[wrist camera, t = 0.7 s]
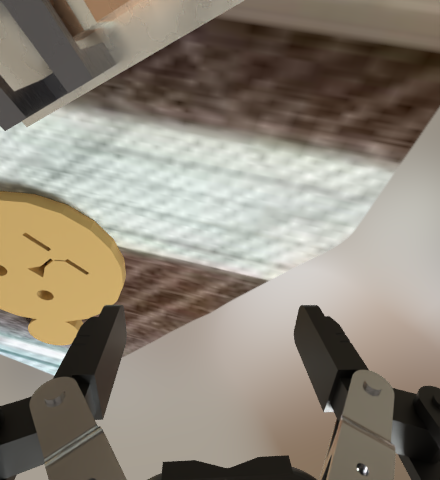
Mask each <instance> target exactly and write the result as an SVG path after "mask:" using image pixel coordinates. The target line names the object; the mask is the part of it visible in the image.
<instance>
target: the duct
mask: <svg viewBox="0 0 440 480" xmlns="http://www.w3.org/2000/svg"><path fill="white" fill-rule="evenodd" d="M49 1H50V3H51V5H52V6H53V8H54V9H55V11H56V12H57V14H58V15H59V17H60V18H61V20H62V22H63V23H64V25H65V26H66V28H67V29H68V31H69V32H70V34H71V35H72V37H73V39H74V40H75V41H80V40H82V39H84V38H85V37H87V36H89V35H90V34H92V33H93V32H95V31H96V30H98V29H100V28H103V27H105V26H106V25H108V24H109V23H111V22H112V21H113V20H114V19H115V18H117V17H118V16H120V15H121V14H123V13H125V12H126V11H128V10H129V9H131V8H132V7H134V6H136V5H137V4H139V3H140V2H142V1H143V0H49Z"/></svg>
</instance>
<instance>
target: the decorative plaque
mask: <svg viewBox="0 0 440 480" xmlns="http://www.w3.org/2000/svg"><path fill="white" fill-rule="evenodd" d="M49 259H50V260H49ZM48 260H49V261H48ZM47 261H48V263H47V265H46V266H45V265H43V264H44V263H45V262H47ZM125 277H126V272H125V262H124V258H123V256H122V254H121V252H120V250H119V248H118V246H117V245H116V243H115V241H114V239H113V238H112V237H110V236H109V235H108V234H107V233H106V232H105V231H104V230H103V229H102V228H101V227H100V226H99V225H98V224H97V223H96V222H95V221H94V220H92V219H90V218H89V217H87V216H85V215H84V214H82V213H80V212H79V211H77V210H75V209H74V208H72V207H70V206H68V205H66V204H63V203H60V202H57V201H54V200H51V199H48V198H45V197H42V196H39V195H36V194H28V193H18V192H7V191H0V309H2V310H5V311H7V312H10V313H13V314H15V315H18V316H23V317H27V318H32V320H31V322H30V324H29V326H28V330H29V332H30V334H31V335H32V336H33V337H34V338H36V339H38V340H40V341H42V342H45V343H48V344H53V345H68V344H72V342H73V340H74V338H76V335H77V333H78V331H79V329H80V327H81V325H83V322H82V320H81V319H88V318H90V317H93V316H95V315H98V314H100V313H101V311H102V309H103V307H104V305H113V304H114V303H115V302H116V301H117V300H118V297H119V295H120V292H121V290H122V287H123V284H124V281H125Z"/></svg>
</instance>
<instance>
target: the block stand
mask: <svg viewBox="0 0 440 480" xmlns="http://www.w3.org/2000/svg"><path fill="white" fill-rule="evenodd" d="M242 1H244V0H143V1H142V2H140V3H139V4H137V5H136V6H134V7H132V8H131V9H129V10H128V11H126V12H125V13H123V14H121V15H120V16H118V17H117V18H115V19H114V20H113V21H112V22H111V23H109V24H108V25H106V26H105V27H103V28H100V29H98V30H96V31H95V32H93V33H92V34H90V35H89V36H87V37H85V38H84V39H82V40H80V41H75V40H74V39H73V37H72V35H71V34H70V32H69V31H68V29H67V28H66V26H65V25H64V23H63V22H62V20H61V18H60V17H59V15H58V14H57V12H56V11H55V9H54V8H53V6H52V5H51V3H50V1H49V0H0V126H1V127H2V128H3V129H4V130H5V131H6V130H8V129H9V128H11V127H13V126H14V125H16V124H18V123H19V122H21V121H22V122H23V123H24V124H25V125H26V127H28V126H30V125H32V124H33V123H35V122H37V121H38V120H40V119H42V118H44V117H45V116H47V115H49V114H50V113H52V112H54V111H56V110H57V109H59V108H61V107H62V106H64V105H66V104H68V103H69V102H71V101H73V100H74V99H76V98H78V97H80V96H81V95H83V94H85V93H86V92H88V91H90V90H92V89H93V88H95V87H97V86H98V85H100V84H102V83H104V82H105V81H107V80H109V79H110V78H112V77H114V76H116V75H117V74H119V73H121V72H122V71H124V70H126V69H128V68H129V67H131V66H133V65H134V64H136V63H138V62H140V61H141V60H143V59H145V58H146V57H148V56H150V55H152V54H153V53H155V52H157V51H158V50H160V49H162V48H164V47H165V46H167V45H169V44H170V43H172V42H174V41H176V40H177V39H179V38H181V37H182V36H184V35H186V34H188V33H189V32H191V31H193V30H194V29H196V28H198V27H200V26H201V25H203V24H205V23H206V22H208V21H210V20H212V19H213V18H215V17H217V16H218V15H220V14H222V13H224V12H225V11H227V10H229V9H230V8H232V7H234V6H236V5H237V4H239V3H241V2H242Z"/></svg>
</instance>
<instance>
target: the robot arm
mask: <svg viewBox="0 0 440 480" xmlns="http://www.w3.org/2000/svg"><path fill="white" fill-rule="evenodd" d="M294 340H295V344H296V347H297V349H298V351H299V354H300V356H301V358H302V361H303V364H304V366H305V368H306V371H307V373H308V376H309V378H310V380H311V383H312V385H313V388H314V390H315V392H316V395H317V397H318V400H319V402H320V404H321V407H322V409H323V412H334V413H335V415H336V417H337V419H336V422H335V425H334V429H333V432H332V436H331V440H330V444H329V447H328V451H327V455H326V458H325V462H324V465H323V469H322V472H321V475H320V478H319V480H394V469H395V453H397V454H398V455H399V457H400V459H401V461H402V463H403V465H404V467H405V468H406V470H407V472H408V474H409V476H410V478H411V480H440V389H439V388H437V387H433V386H423V387H421V388H420V389H419V391H418V393H417V394H414V393H410V392H406V391H402V390H398V389H395V388H392V387H391V385H390V384H389V383H388V382H387V381H386V380H385V379H384V378H383V377H382V376H380V375H379V374H377V373H375V372H372V371H369V370H368V368H367V366H366V365H365V363H364V362H363V360H362V359H361V357H360V356H359V354H358V353H357V351H356V350H355V348H354V347H353V345H352V344H351V343H350V341H349V339H348V337H347V336H346V335H345V333H344V331H343V330H342V328H341V327H340V325H339V324H338V323H337V322H336V321H334V320H333V319H332V318H331V317H328V316H327V317H325V316H324V314H323V313H322V311H321V309H320V308H319V307H318V306H317V305H301V306H300V308H299V311H298V316H297V320H296V325H295V329H294ZM125 344H126V324H125V315H124V307H123V305H104V307H103V309H102V311H101V313H100V315H99V317H90V318H89V319H88V320H87V321H86V322H85V323H84V324H83V325H81V327H80V329H79V331H78V333H77V335H76V338H74V340H73V342H72V345H71V346H70V348H69V350H68V352H67V354H66V355H65V357H64V359H63V361H62V363H61V365H60V367H59V369H58V370H57V372H56V374H55V376H54V378H53V379H52V380H50V381H48V382H46V383H44V384H43V385H41V386H40V387H39V388H38V389H37V390H36V391H35V393H34V394H33V395H32V397H29V398H26V399H23V400H20V401H16V402H14V403H10V404H6V405H3V406H0V480H14V479H15V477H16V475H17V474H19V473H22V472H24V471H27V470H30V469H32V468H35V467H37V466H40V465H43V464H45V468H46V471H47V475H48V479H49V480H126V477H125V476H124V473H123V471H122V469H121V467H120V465H119V463H118V461H117V459H116V457H115V454H114V452H113V450H112V448H111V446H110V444H109V442H108V440H107V438H106V436H105V434H104V432H103V430H102V428H101V427H98V426H97V424H96V422H95V420H101V419H103V418H104V414H105V411H106V408H107V404H108V401H109V397H110V394H111V391H112V388H113V384H114V381H115V378H116V374H117V371H118V367H119V364H120V361H121V358H122V354H123V351H124V348H125ZM148 480H316V479H315V478H314V477H312V476H311V475H309V474H308V473H306V472H304V471H302V470H299V469H297V468H294V467H291V463H290V459H289V456H269V457H257V458H255V459H252V460H250V461H247V462H245V463H242V464H239V465H236V466H234V467H231V468H223V467H219V466H215V465H211V464H207V463H203V462H199V461H195V460H192V461H175V462H174V461H173V462H163V467H162V473H161V474H158V475H156V476H154V477H152V478H150V479H148Z"/></svg>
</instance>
